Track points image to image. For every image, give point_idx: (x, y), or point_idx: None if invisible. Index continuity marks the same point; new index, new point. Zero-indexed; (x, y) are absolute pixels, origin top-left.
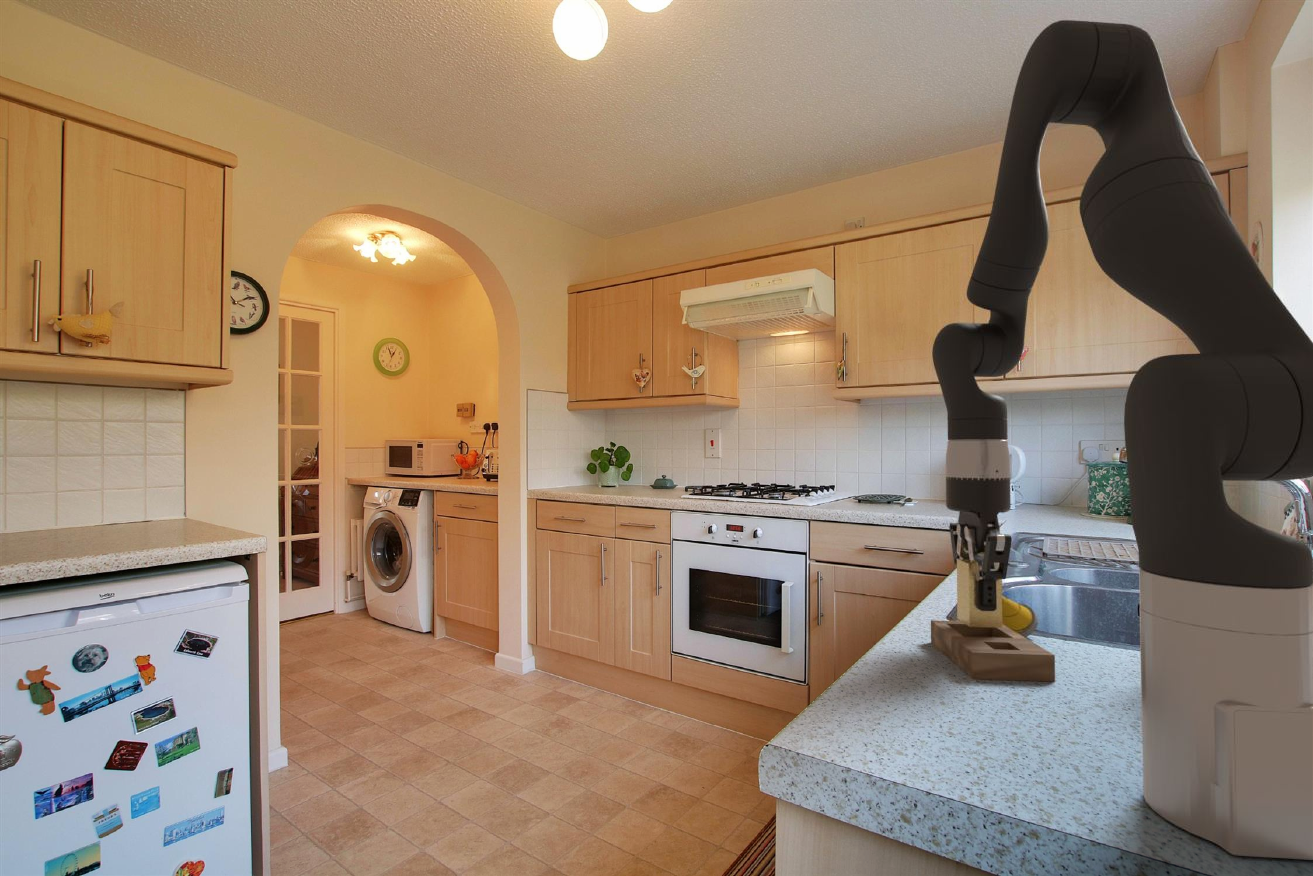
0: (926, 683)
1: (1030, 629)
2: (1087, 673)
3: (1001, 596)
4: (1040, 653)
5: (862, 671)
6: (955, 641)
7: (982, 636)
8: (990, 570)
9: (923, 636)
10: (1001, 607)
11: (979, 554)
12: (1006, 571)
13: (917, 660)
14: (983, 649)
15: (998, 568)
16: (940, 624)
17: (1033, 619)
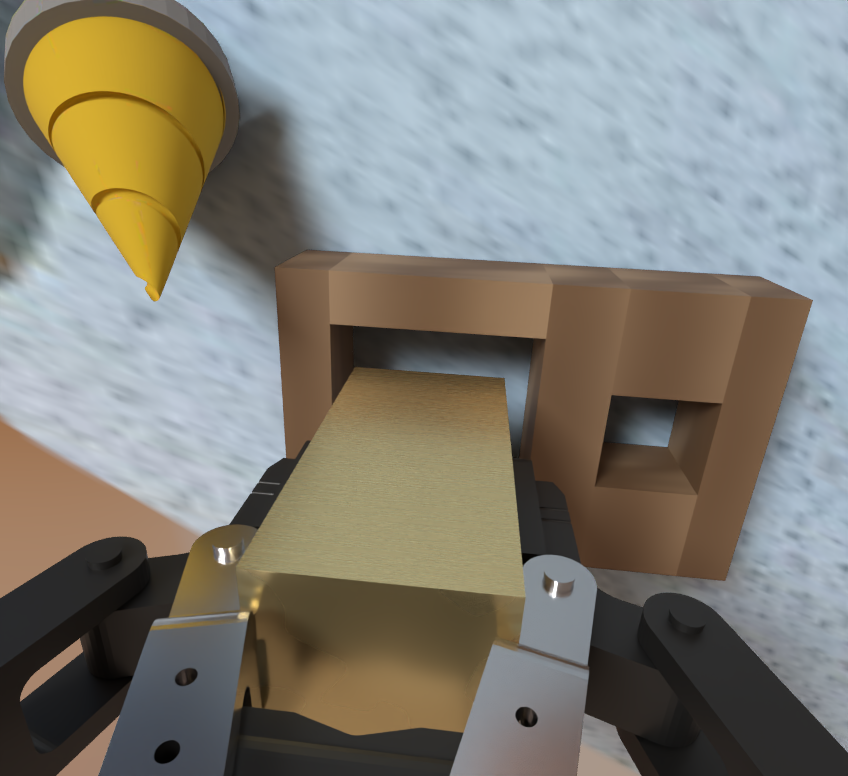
0: None
1: (228, 72)
2: (684, 70)
3: (510, 452)
4: (778, 347)
5: (602, 744)
6: None
7: (342, 348)
8: (692, 734)
9: (243, 482)
10: (506, 422)
11: (251, 675)
12: (752, 655)
13: None
14: (694, 531)
15: (663, 676)
16: None
17: (182, 32)
